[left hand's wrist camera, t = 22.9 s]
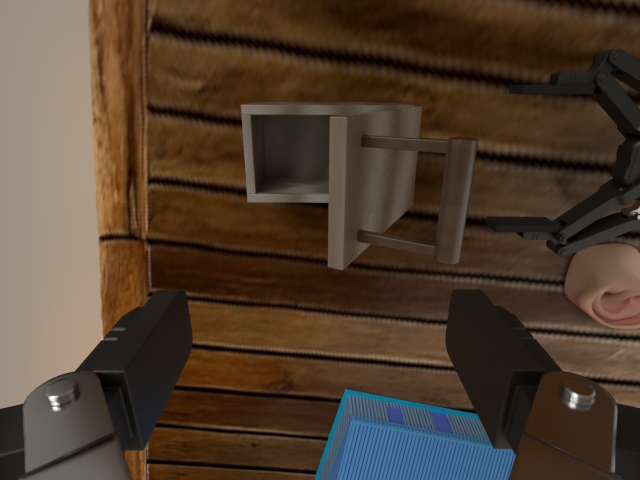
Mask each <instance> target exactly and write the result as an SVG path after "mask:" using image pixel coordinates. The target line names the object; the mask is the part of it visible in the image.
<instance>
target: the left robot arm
mask: <svg viewBox="0 0 640 480" xmlns="http://www.w3.org/2000/svg"><path fill="white" fill-rule="evenodd" d="M192 339H193V337H192V328H191V322H190V315H189V308H188V302H187V296H186V293H185V292H184V291H183V290H157V291H156V292H155V293H154V294H153V295H152V297H151V298H150V299H149V300H148V301H147V303H146V304H145V305H144V306H143V307H137V308H135V309H134V310H132V311H130V312H129V313H127V314H126V315H124V316H122V317H121V319H120V320H119V321H118V322H117V323H116V324H115V326H114V327H113V328H112V331H109V332H108V334H107V335H106V336H105V337H104V340H102V341H101V342H100V343H99V344H98V345H97V346H96V348H95V349H94V350H93V351H92V352H91V353H90V355H89V356H88V357H87V358H86V359H85V360H84V361H83V363H82V364H81V365H80V366H79V367H78V368H77V369H76V371H75V372H70V373H66V374H63V375H59V376H57V377H54V378H52V379H50V380H48V381H46V382H45V383H43V384H42V385H40V386H39V387H37V388H36V389H35V390H34V391H33V392H31V393H30V395H29V396H28V397H27V399H26V400H25V402H24V404H20V405H16V406H12V407H7V408H3V409H0V480H132V478H131V475H130V472H129V469H128V466H127V462H126V459H125V456H124V451H125V450H144V448H145V446H146V444H147V442H148V440H149V438H150V436H151V434H152V431H153V429H154V427H155V425H156V423H157V421H158V419H159V417H160V415H161V413H162V411H163V409H164V407H165V405H166V403H167V401H168V399H169V397H170V395H171V393H172V390H173V388H174V386H175V384H176V382H177V380H178V378H179V376H180V374H181V372H182V370H183V368H184V366H185V364H186V362H187V360H188V358H189V355H190V353H191V349H192ZM446 348H447V352H448V355H449V357H450V359H451V361H452V363H453V365H454V367H455V369H456V371H457V373H458V376H459V378H460V380H461V382H462V384H463V386H464V388H465V390H466V392H467V394H468V396H469V398H470V400H471V403H472V405H473V407H474V409H475V411H476V413H477V415H478V417H479V419H480V421H481V423H482V425H483V427H484V429H485V432H486V434H487V436H488V438H489V440H490V442H491V444H492V446H493V448H494V449H512V450H513V452H514V453H515V455H516V456H515V459H514V462H513V466H512V469H511V472H510V475H509V478H508V480H640V408H636V407H631V406H627V405H622V404H618V403H616V402H615V400H614V398H613V397H612V396H611V395H610V393H609V392H608V391H606V390H605V389H604V388H603V387H601V386H600V385H599V384H597V383H595V382H594V381H592V380H590V379H588V378H586V377H583V376H581V375H577V374H574V373H570V372H564V371H562V370H561V369H560V367H559V366H558V365H557V364H556V363H555V362H554V360H553V359H552V358H551V357H550V356H549V355H548V353H547V352H546V351H545V350H544V349H543V348H542V346H541V345H540V344H539V343H538V342H537V341H536V340H534V338H533V336H532V335H531V334H530V332H529V331H528V330H525V327H524V325H523V324H522V323H521V322H520V321H519V320H518V318H517V317H516V316H515V315H513V314H512V313H510V312H508V311H507V310H505V309H504V308H502V307H501V306H494V305H493V304H492V302H491V301H490V300H489V299H488V297H487V296H486V295H485V294H484V292H483V291H482V290H454V291H453V293H452V295H451V301H450V308H449V315H448V321H447V328H446Z"/></svg>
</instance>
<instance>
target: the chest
mask: <svg viewBox="0 0 640 480" xmlns="http://www.w3.org/2000/svg"><path fill="white" fill-rule="evenodd" d="M406 106H414V105H409V104H403V103H398V102H253V103H248V104H243V105H241V114H242V127H243V142H244V156H245V171H246V185H247V200H248V202H276V203H329V138H330V117H331V116H338V115H345V114H353V113H360V112H368V111H375V110H383V109H390V108H398V107H406Z"/></svg>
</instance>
